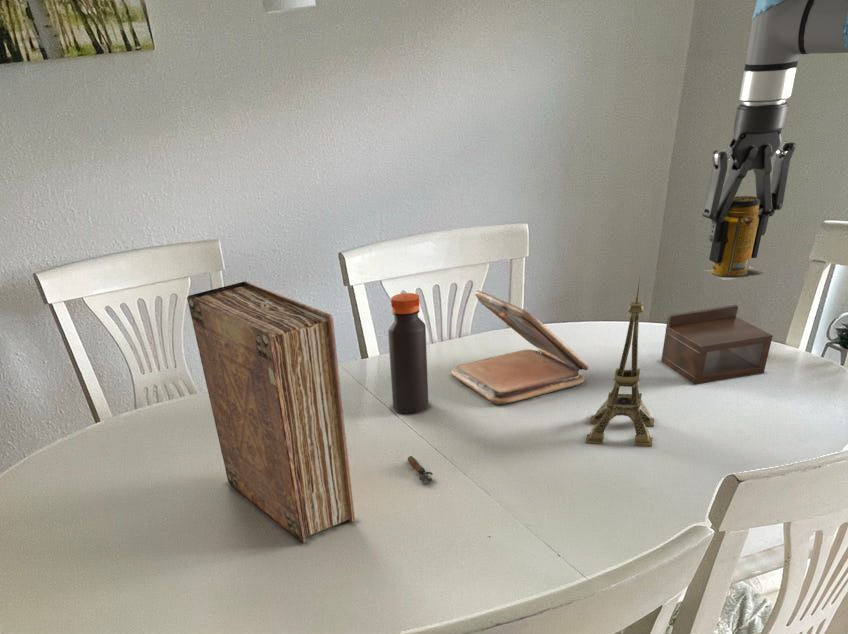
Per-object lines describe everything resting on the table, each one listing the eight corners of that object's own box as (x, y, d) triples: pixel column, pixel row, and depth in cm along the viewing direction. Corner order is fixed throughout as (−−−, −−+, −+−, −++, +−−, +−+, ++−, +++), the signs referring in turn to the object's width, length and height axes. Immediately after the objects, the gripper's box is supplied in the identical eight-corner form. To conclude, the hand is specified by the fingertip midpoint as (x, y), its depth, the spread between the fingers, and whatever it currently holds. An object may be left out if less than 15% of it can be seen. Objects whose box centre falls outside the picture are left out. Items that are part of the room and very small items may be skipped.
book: (356, 523, 116) (333, 315, 98) (303, 545, 113) (269, 334, 94) (276, 465, 134) (243, 280, 115) (227, 483, 130) (186, 294, 111)
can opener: (407, 462, 130) (406, 456, 129) (420, 460, 130) (420, 453, 130) (423, 486, 123) (423, 480, 122) (437, 484, 124) (437, 477, 123)
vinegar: (418, 397, 152) (414, 288, 139) (434, 408, 147) (431, 297, 134) (387, 405, 150) (379, 296, 137) (402, 417, 145) (395, 305, 132)
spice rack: (764, 373, 147) (775, 324, 141) (694, 384, 145) (703, 335, 140) (726, 351, 157) (735, 304, 151) (660, 361, 155) (668, 315, 150)
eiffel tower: (653, 419, 135) (677, 264, 119) (651, 446, 127) (676, 284, 112) (591, 417, 138) (606, 265, 122) (585, 442, 130) (600, 284, 115)
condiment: (702, 271, 143) (715, 197, 135) (745, 265, 143) (761, 191, 136) (722, 281, 137) (737, 204, 129) (768, 275, 138) (785, 198, 130)
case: (592, 384, 149) (601, 296, 139) (497, 408, 144) (499, 319, 134) (535, 353, 165) (539, 272, 154) (446, 375, 159) (445, 292, 149)
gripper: (803, 93, 128) (769, 247, 142) (695, 107, 126) (672, 261, 140) (833, 96, 122) (795, 256, 137) (720, 111, 120) (693, 271, 135)
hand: (732, 258), depth 139 cm, fingers closed on condiment, 6 cm apart
